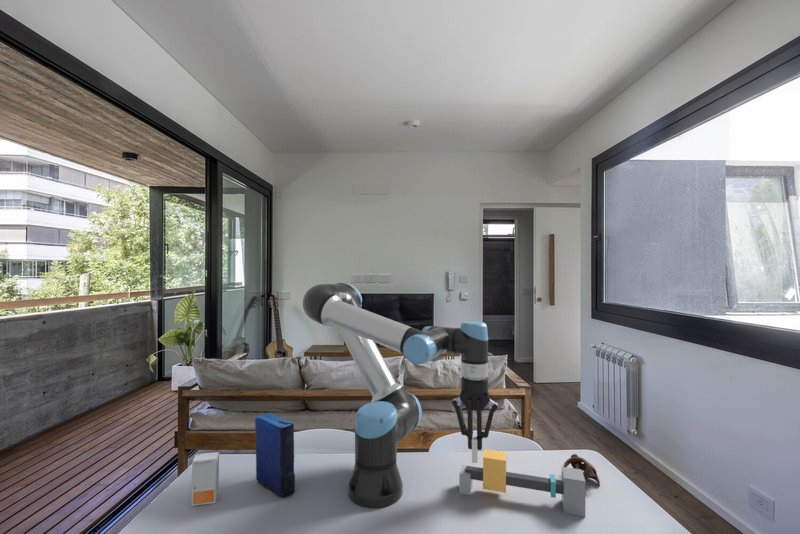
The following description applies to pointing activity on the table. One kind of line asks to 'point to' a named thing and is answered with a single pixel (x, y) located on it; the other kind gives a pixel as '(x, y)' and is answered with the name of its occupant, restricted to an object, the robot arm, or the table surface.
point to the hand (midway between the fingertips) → (475, 460)
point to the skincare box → (205, 478)
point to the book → (275, 454)
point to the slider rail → (538, 485)
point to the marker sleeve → (494, 470)
